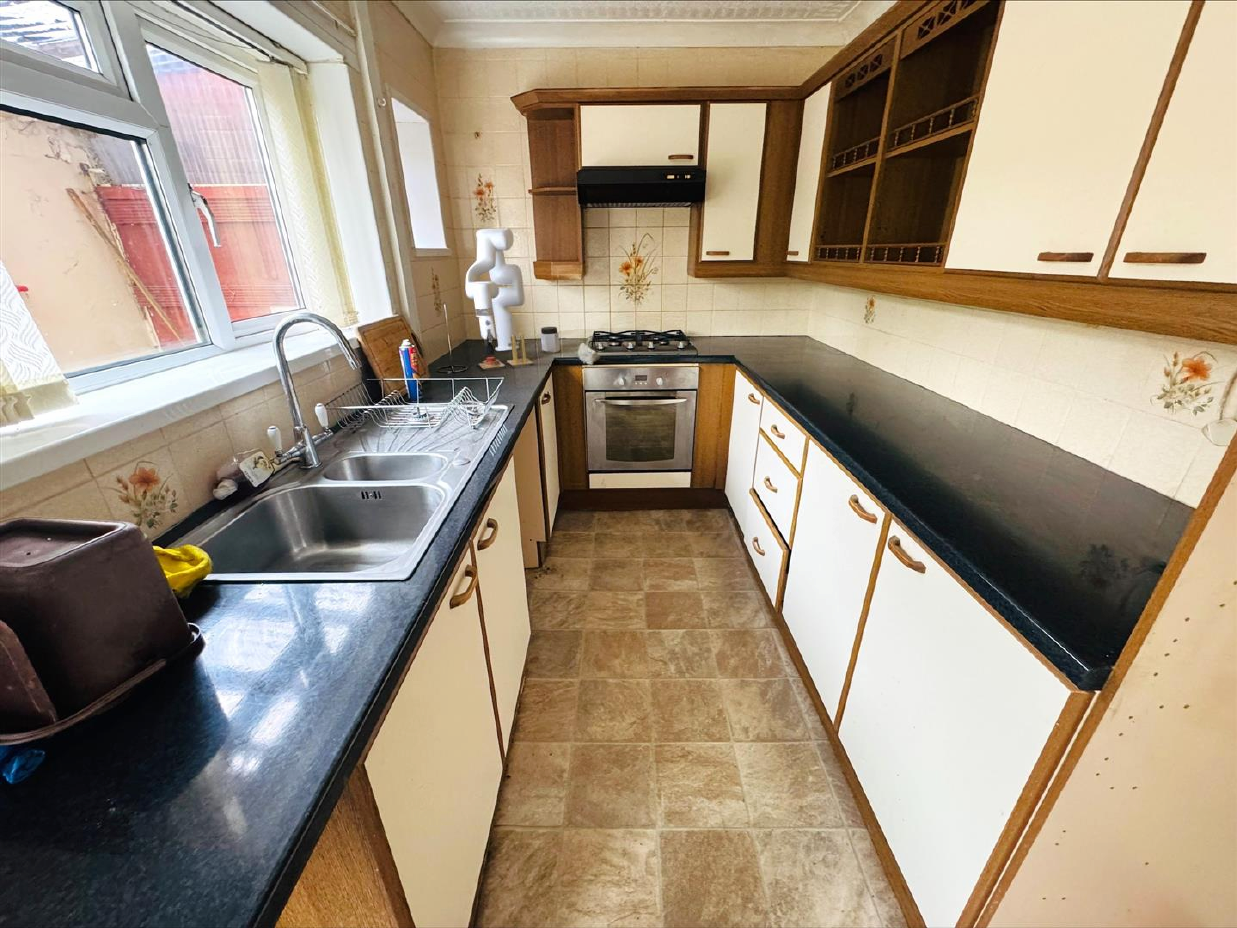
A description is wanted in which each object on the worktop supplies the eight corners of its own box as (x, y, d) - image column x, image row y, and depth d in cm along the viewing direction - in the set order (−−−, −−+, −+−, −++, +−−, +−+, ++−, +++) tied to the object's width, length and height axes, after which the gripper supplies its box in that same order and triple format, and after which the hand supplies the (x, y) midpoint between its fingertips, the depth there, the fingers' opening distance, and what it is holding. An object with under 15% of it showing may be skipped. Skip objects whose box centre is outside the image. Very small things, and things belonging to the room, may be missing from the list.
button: (485, 361, 233) (485, 357, 232) (494, 360, 235) (494, 356, 234) (487, 363, 230) (487, 359, 229) (496, 361, 231) (496, 358, 231)
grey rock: (582, 363, 243) (565, 348, 230) (592, 351, 242) (575, 335, 230) (602, 378, 234) (585, 363, 222) (612, 365, 234) (596, 349, 221)
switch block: (478, 366, 236) (477, 359, 235) (499, 363, 240) (499, 357, 239) (483, 371, 226) (482, 364, 225) (505, 368, 230) (505, 361, 229)
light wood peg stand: (506, 363, 240) (502, 333, 235) (527, 360, 244) (523, 331, 239) (512, 367, 230) (509, 337, 225) (534, 365, 234) (531, 334, 229)
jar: (548, 349, 268) (545, 326, 264) (561, 350, 266) (560, 326, 261) (539, 353, 261) (537, 329, 256) (554, 353, 258) (552, 329, 253)
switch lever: (508, 347, 242) (507, 342, 241) (518, 346, 243) (517, 341, 243) (513, 340, 230) (511, 335, 230) (523, 339, 232) (522, 334, 232)
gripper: (496, 313, 219) (502, 356, 226) (489, 310, 231) (494, 351, 238) (479, 315, 216) (485, 358, 223) (472, 311, 228) (478, 352, 236)
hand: (490, 354), depth 231 cm, fingers closed
